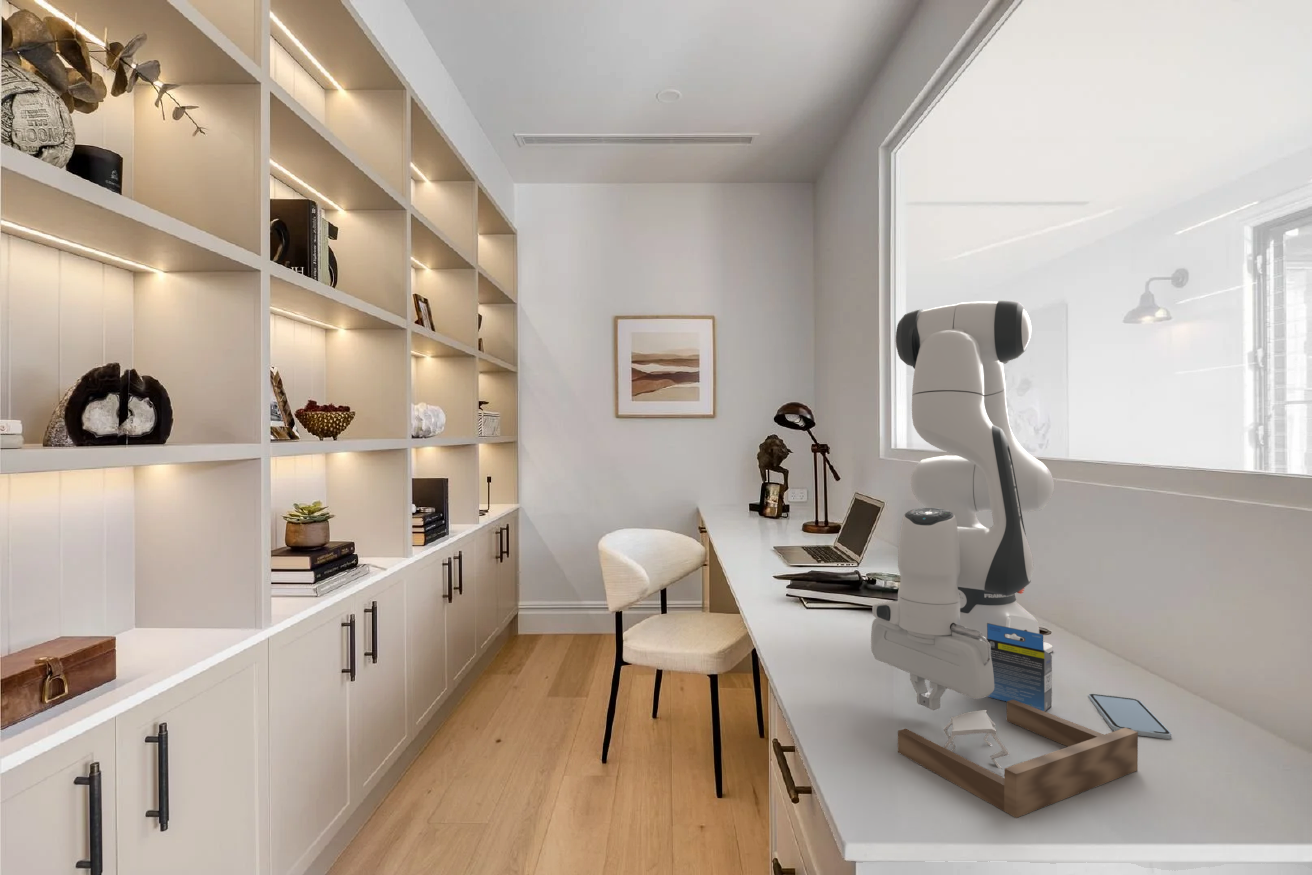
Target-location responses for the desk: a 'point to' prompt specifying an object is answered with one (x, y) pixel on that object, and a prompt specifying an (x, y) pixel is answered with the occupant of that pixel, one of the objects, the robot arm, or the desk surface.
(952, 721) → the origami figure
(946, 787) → the desk surface
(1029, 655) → the label tape cartridge
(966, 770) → the walnut bay
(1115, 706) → the smartphone
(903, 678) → the desk surface
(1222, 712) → the desk surface
